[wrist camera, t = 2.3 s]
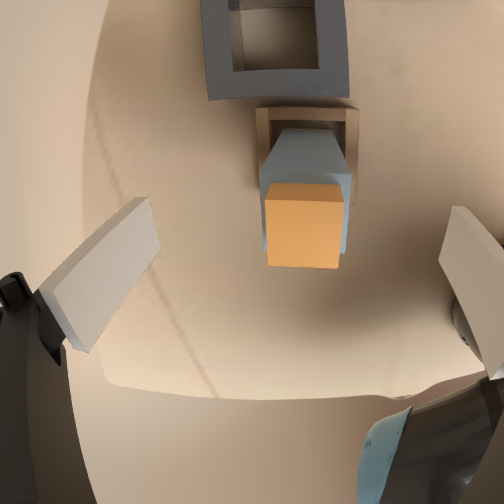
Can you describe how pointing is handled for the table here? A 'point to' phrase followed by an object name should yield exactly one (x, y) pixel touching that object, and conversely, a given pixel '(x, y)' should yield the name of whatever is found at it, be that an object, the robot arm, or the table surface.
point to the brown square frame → (327, 113)
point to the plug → (305, 199)
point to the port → (274, 80)
